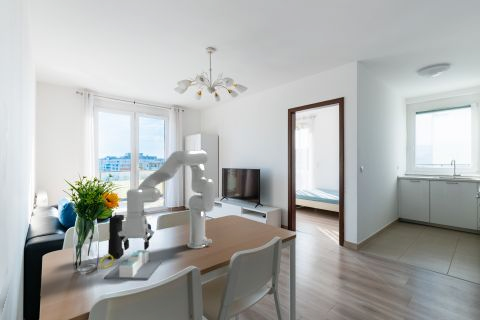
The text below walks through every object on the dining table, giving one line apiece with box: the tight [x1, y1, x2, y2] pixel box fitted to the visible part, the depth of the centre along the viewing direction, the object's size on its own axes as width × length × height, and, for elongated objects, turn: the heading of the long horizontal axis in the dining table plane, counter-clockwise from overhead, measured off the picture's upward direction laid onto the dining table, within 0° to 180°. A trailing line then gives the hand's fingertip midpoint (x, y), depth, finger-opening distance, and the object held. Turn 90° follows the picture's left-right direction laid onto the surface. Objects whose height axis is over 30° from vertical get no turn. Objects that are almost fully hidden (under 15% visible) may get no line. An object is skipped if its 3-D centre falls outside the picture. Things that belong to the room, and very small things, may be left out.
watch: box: [99, 253, 115, 269], centre depth 115 cm, size 6×3×6 cm, turn 143°
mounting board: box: [103, 249, 163, 281], centre depth 112 cm, size 20×18×6 cm
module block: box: [127, 251, 142, 269], centre depth 112 cm, size 4×6×6 cm, turn 0°
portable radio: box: [107, 212, 125, 260], centre depth 127 cm, size 8×6×25 cm
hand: (136, 248), depth 112 cm, fingers open, 9 cm apart
